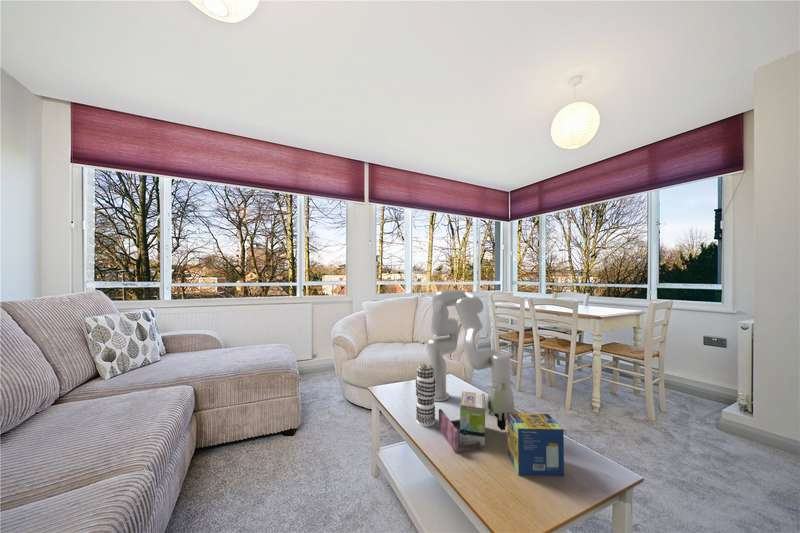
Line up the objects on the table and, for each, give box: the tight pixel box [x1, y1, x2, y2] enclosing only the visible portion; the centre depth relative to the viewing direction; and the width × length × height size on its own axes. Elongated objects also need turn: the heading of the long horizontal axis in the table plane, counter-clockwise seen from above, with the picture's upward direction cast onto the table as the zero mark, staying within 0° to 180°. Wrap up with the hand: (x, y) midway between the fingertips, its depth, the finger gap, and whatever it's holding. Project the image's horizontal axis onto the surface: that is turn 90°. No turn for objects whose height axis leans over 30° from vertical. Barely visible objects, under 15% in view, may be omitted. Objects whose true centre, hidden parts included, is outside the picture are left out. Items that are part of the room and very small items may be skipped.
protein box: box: [506, 413, 565, 477], centre depth 100 cm, size 10×15×16 cm
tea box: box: [459, 390, 486, 446], centre depth 120 cm, size 15×10×15 cm
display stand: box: [438, 408, 481, 454], centre depth 117 cm, size 18×10×8 cm, turn 12°
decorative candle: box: [415, 363, 436, 427], centre depth 131 cm, size 9×9×25 cm
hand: (501, 428), depth 121 cm, fingers closed
